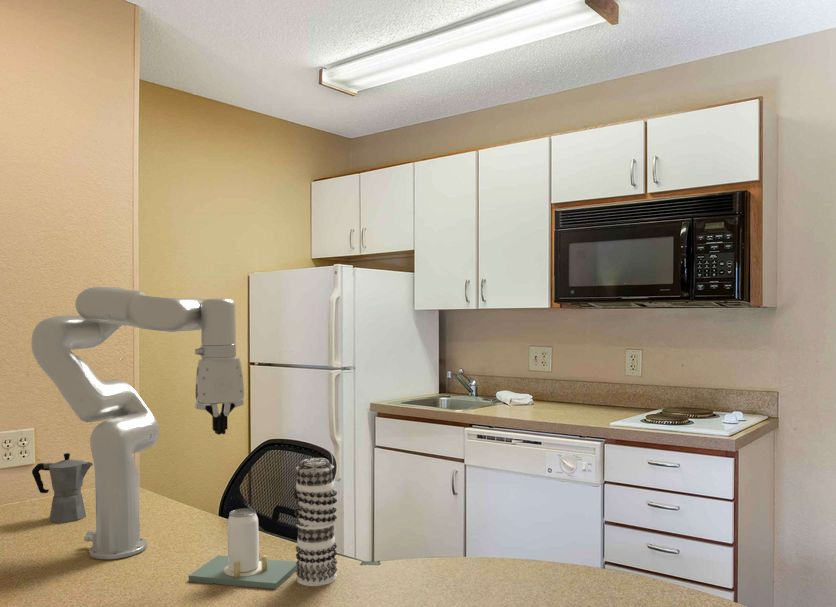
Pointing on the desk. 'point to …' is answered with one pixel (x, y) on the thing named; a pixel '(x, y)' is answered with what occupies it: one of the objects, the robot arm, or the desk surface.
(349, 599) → the desk surface
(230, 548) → the can
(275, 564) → the green board with pegs
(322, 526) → the decorative candle
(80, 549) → the desk surface
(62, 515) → the coffeepot
